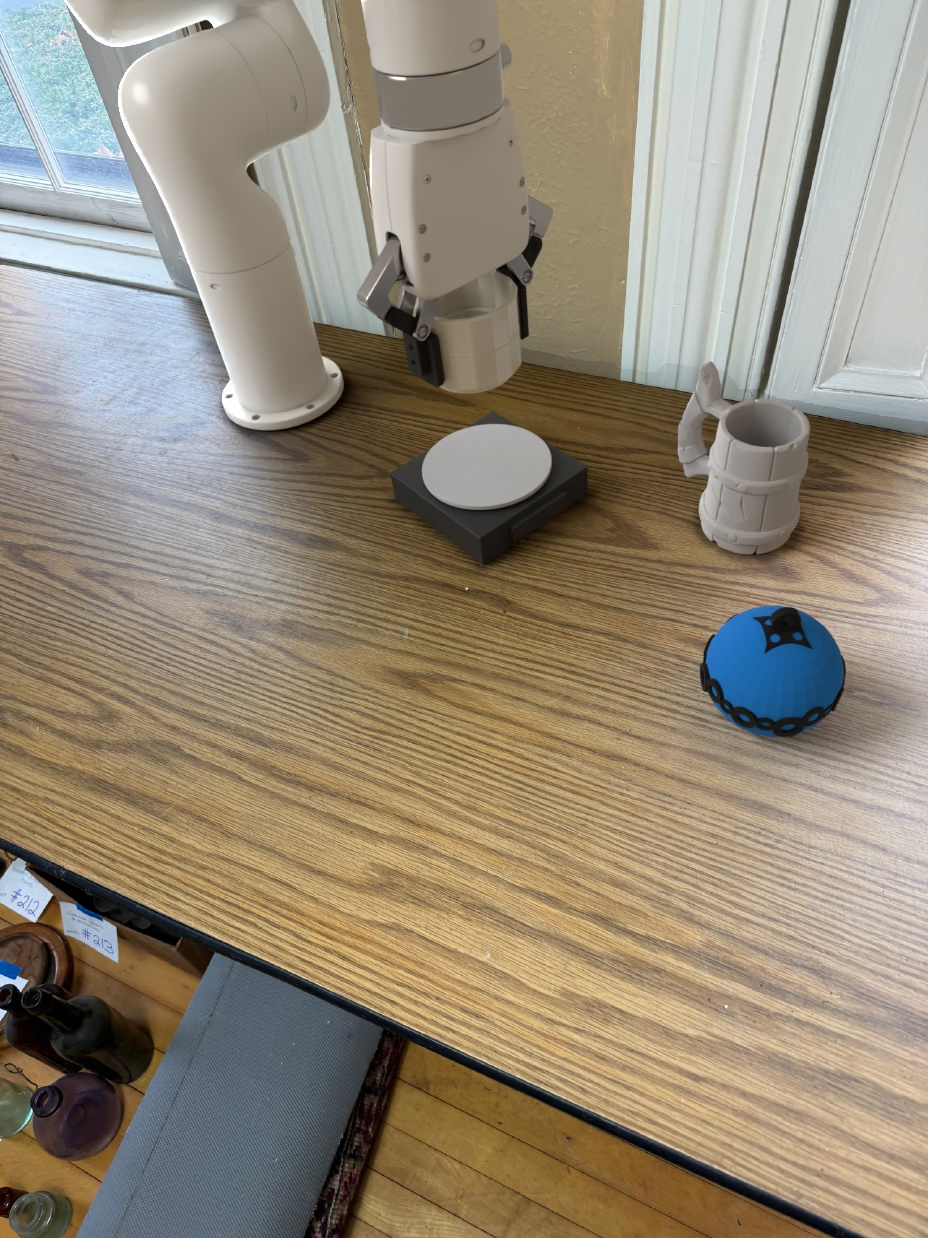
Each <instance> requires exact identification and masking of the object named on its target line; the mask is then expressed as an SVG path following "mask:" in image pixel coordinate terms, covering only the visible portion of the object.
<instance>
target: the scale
mask: <svg viewBox="0 0 928 1238" xmlns="http://www.w3.org/2000/svg"><path fill="white" fill-rule="evenodd" d="M588 467H589V466H588V465H586V464H585V463H582V462H581V461H580V460H577V459H575V458H574V457H573V456H570V455H569V454H567V453H566V452H564V451H562V450H560V449H559V448H557V447H555V446H554V445H552V444H551V443H549V442H547V441H546V440H543V439H542V438H541V437H540V436H539V435H537V434H536V433H534V432H532V431H530V430H528V429H525V428H523V427H522V426H520V425H518V424H516V423H515V422H513V421H511V420H509V419H508V418H507V417H505V416H503V415H501V414H500V413H498V412H496V411H494V410H492V411H491V412H489V413H487V414H486V415H483V416H482V417H481V418H479V419H477V420H475V421H473V423H471V424H469V425H468V426H465V427H464V428H462V429H459V430H456V431H454V432H452V433H450V434H448V435H446V436H444V437H442V438H441V439H440V440H439V441H438V442H436V443H435V444H434V445H433V446H432V447H431V448H429V449H427V450H426V451H424V452H423V453H421V454H419V455H418V456H415V457H414V458H412V459H411V460H409V461H407V462H406V463H404V464H402V465H401V466H399V467H397V468H396V469H395V470H393V471H391V472H389V475H390V480H391V484H392V489H393V493H394V499H395V500H396V501H397V502H398V503H400V504H401V505H402V506H404V507H405V508H407V509H408V510H409V511H411V512H412V513H413V514H415V515H416V516H417V517H418V518H420V519H421V520H423V521H424V522H425V523H427V524H428V525H429V526H431V527H432V528H433V529H435V530H436V531H437V532H438V533H440V534H441V535H442V536H444V537H445V538H446V539H448V540H449V541H451V542H452V543H453V544H455V545H456V546H457V547H459V548H460V549H461V550H463V551H464V552H465V553H467V554H468V555H469V556H471V558H473V559H474V560H476V561H477V562H479V563H480V564H481V565H483V566H484V565H486V564H487V563H488V562H490V561H492V560H493V559H494V558H496V557H498V556H499V555H501V554H502V553H503V552H505V551H506V550H508V549H509V548H511V547H512V546H513V545H515V544H516V543H518V542H519V541H521V540H522V539H523V538H525V537H527V536H528V535H529V534H531V533H532V532H534V531H536V530H537V529H538V528H540V527H541V526H543V525H544V524H545V523H547V522H548V521H550V520H551V519H553V518H554V517H556V516H557V515H559V514H561V513H562V512H563V511H565V510H566V509H567V508H569V507H570V506H572V505H573V504H575V503H576V502H577V501H580V500H581V499H582V498H584V497H585V496H586V495H588V493H589V492H588V491H589V489H588V488H589V485H588V483H589V482H588V479H589V477H588V474H589V473H588V471H589V470H588Z"/></svg>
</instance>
